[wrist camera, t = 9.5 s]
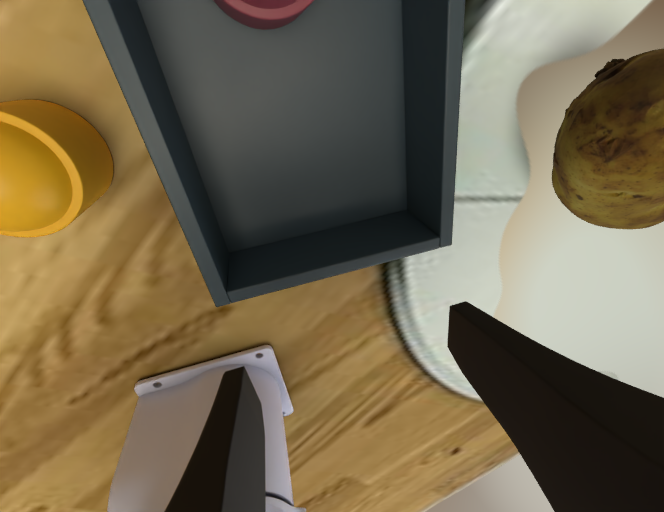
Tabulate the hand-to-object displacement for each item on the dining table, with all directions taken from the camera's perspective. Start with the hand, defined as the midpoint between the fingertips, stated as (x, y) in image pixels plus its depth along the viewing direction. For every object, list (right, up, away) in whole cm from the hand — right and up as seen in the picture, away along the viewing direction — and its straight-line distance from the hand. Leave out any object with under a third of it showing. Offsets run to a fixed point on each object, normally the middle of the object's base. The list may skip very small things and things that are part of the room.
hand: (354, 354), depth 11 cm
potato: (+16, +11, +11) cm, 22 cm away
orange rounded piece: (-14, +8, +4) cm, 16 cm away
